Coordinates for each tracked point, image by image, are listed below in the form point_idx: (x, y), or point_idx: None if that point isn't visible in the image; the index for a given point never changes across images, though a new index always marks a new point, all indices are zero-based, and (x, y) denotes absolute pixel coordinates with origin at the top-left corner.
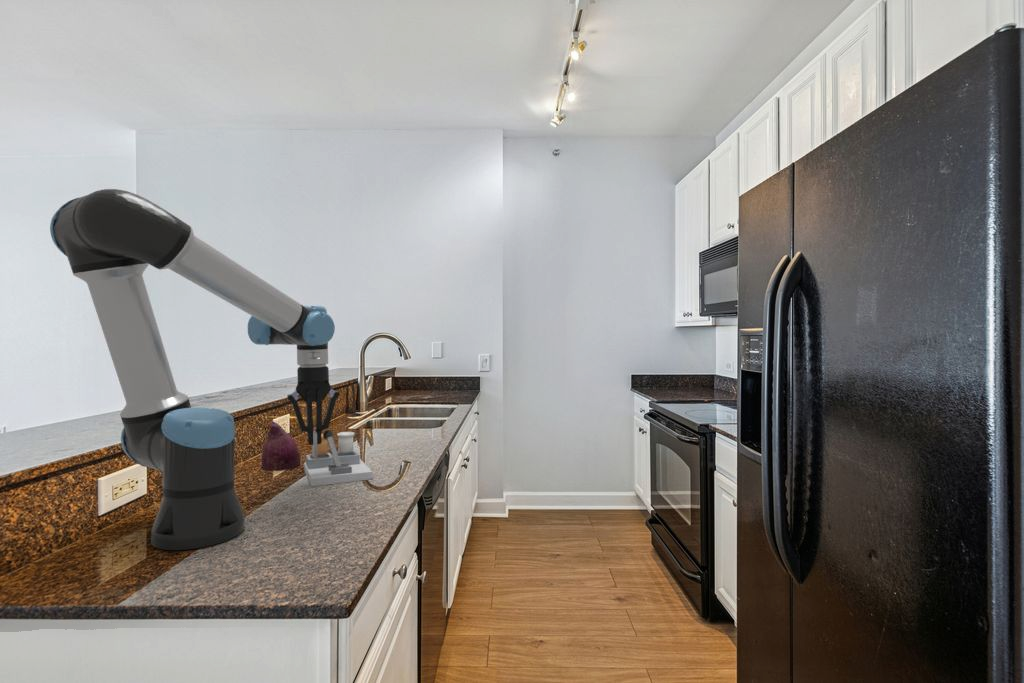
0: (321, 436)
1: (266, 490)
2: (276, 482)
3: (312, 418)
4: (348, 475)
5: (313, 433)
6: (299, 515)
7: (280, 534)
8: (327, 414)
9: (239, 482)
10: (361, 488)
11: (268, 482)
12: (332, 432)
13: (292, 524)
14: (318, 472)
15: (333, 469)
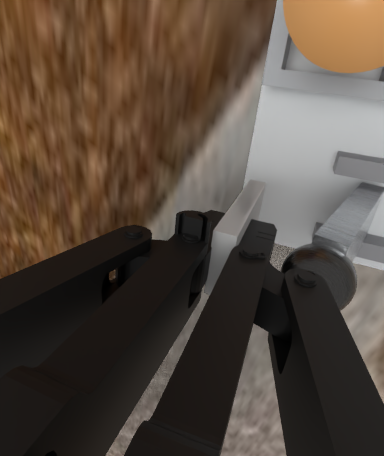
0: (352, 61)
1: (121, 178)
2: (154, 98)
3: (159, 360)
4: (370, 264)
5: (205, 291)
6: (164, 385)
7: (128, 425)
8: (288, 435)
9: (49, 20)
10: (361, 336)
11: (131, 81)
12: (340, 310)
13: (147, 409)
14: (284, 167)
15: None
